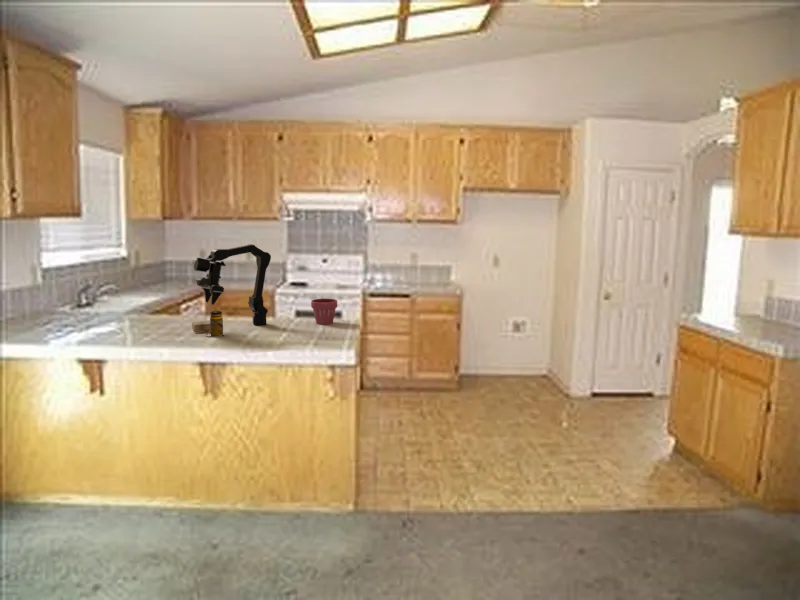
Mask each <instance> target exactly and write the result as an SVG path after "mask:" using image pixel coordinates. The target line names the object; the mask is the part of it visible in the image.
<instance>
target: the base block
mask: <svg viewBox="0 0 800 600" xmlns="http://www.w3.org/2000/svg"><path fill="white" fill-rule="evenodd" d="M192 329H193V330H192ZM191 330H192V332H199V333H208V332H207V331H211V330H210V320H203V321H192V323H191Z"/></svg>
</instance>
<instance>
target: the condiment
mask: <svg viewBox="0 0 800 600" xmlns="http://www.w3.org/2000/svg"><path fill="white" fill-rule="evenodd" d="M209 321H210V330H211V332H210V334H211V336H219V337H221V336H220V335H223V334H224V322H223V321H224V320H223V312H222V311H221V310H213V311H210V317H209ZM208 334H209V333H206V334H204V335H205V336H206V335H208Z"/></svg>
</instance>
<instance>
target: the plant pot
mask: <svg viewBox="0 0 800 600" xmlns="http://www.w3.org/2000/svg"><path fill="white" fill-rule="evenodd" d="M310 305H311V309H312V310H313V314H314V319H315V323H316V324H317V325H320V326H321V325H323V326H325V325H326V326H327V325H332V324H333V323H334V318H335V315H336V314H335V313H336V309H337V308H338V299H335V298H315V299H314V298H313V299H312V300H311V302H310Z"/></svg>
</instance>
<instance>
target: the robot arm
mask: <svg viewBox="0 0 800 600" xmlns="http://www.w3.org/2000/svg"><path fill="white" fill-rule="evenodd" d="M249 253H250V254H251V255H253V257H255V259H256V260H255V262H256V266H257V268H256V269H257V270H256V277H255V280H254V281H255V282H254V289H253V294H252V296H250V295H249V296H248V302H247V304H248V307H249V309H250V310H252V313H253V315H252V324H253V325H254V324H255V325H254V326H267V325H268V323H267V314H268V311H269V310H268V309H267V308H266V307H265V306H264V297H263V293H264V292H263V291H264V284H265V280H266V279H265V278H266V274H267V273H266V272H267V268H268V267H269V265H270V262H271V259H272V255H271V254H270V253H269V252H268V251H267V252H266V251H264V250H262V249H260V248H259V247H257V246H256V245H255V244H251V243H249V244H247V245H240V246H237V247H232V248H214V249H211V251H210V254H209V255H208V256H207V257H206V258H201V257H196V260H195V262H194V264H193V269H194V271H196V272H202V273H203V272H204V273H207V272H208V273H207V274H206V276H205V277H204V276H203V277H199V278H196V279H195V282H196V286H198V287H201V289H202V291H204V299H205V303H209V301H210V299H211V306H214V305H215V303H216V302H217V301H218V300H219V298H220V296H221V295H222V294H223V293H224V291H225V287H224V286H222V285H220V284H219V283H220V279H222V276H221V270H222V267H226V266H227V265H226V263H225V262H224V260H227V259H228V258H230V257H233V256H238V255H242V254H243V255H244V254H249ZM266 324H267V325H266Z"/></svg>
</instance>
